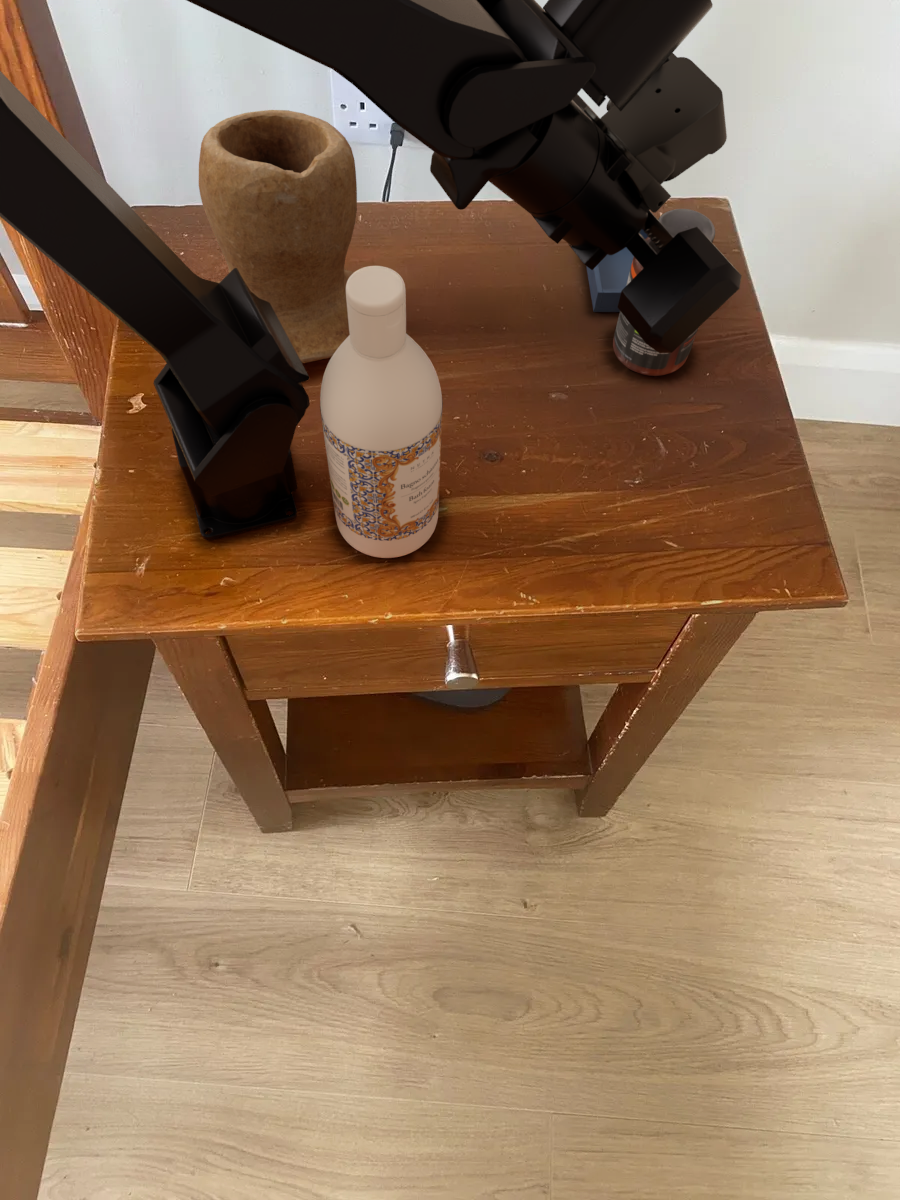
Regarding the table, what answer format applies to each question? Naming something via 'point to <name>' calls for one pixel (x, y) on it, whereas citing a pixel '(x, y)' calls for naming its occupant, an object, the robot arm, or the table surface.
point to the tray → (610, 279)
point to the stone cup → (285, 218)
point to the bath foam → (382, 423)
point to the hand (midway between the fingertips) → (671, 268)
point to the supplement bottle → (626, 337)
